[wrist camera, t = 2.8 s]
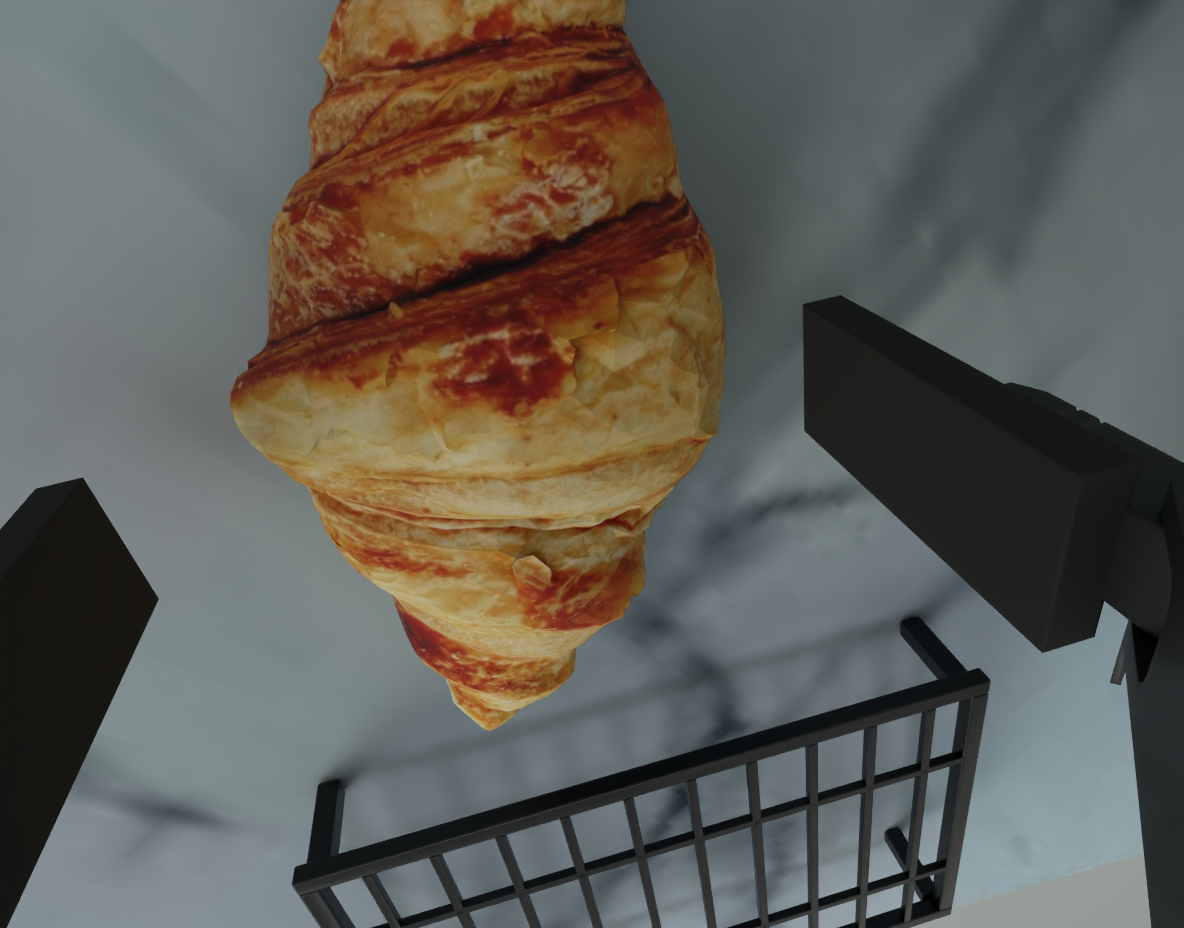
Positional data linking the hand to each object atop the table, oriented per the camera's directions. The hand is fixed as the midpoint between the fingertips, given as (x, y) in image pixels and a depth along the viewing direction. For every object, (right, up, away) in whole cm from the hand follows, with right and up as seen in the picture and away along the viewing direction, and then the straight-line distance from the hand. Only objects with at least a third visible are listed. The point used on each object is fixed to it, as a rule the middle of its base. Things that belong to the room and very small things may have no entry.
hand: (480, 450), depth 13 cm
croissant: (-1, +3, +5) cm, 5 cm away
